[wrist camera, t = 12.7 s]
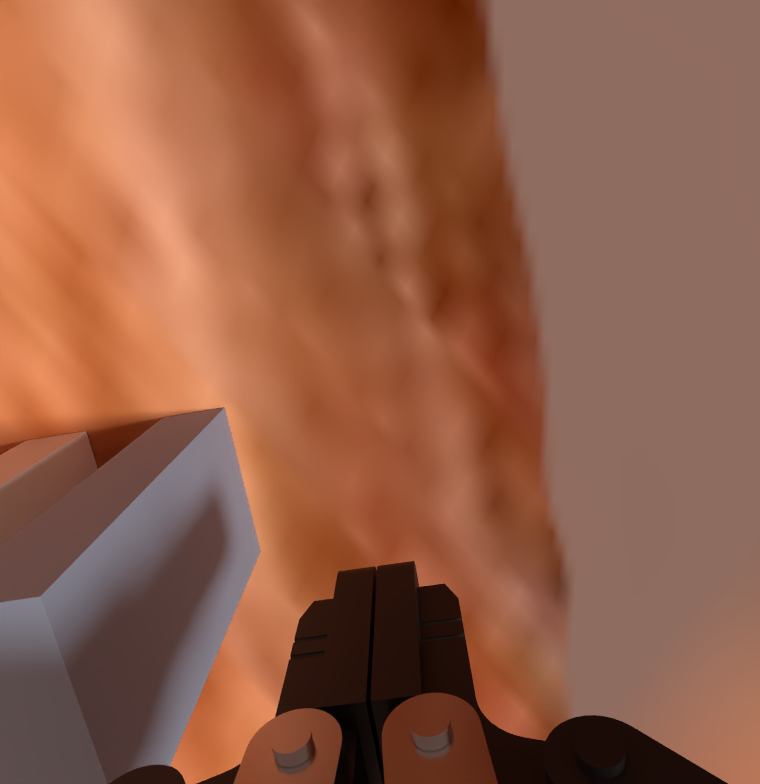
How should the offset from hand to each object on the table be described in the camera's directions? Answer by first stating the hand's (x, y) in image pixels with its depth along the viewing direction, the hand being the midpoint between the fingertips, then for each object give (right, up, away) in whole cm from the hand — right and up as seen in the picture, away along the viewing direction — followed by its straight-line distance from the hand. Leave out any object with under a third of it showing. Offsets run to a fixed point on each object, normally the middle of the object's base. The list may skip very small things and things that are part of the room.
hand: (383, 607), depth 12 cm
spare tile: (-5, +1, +7) cm, 9 cm away
